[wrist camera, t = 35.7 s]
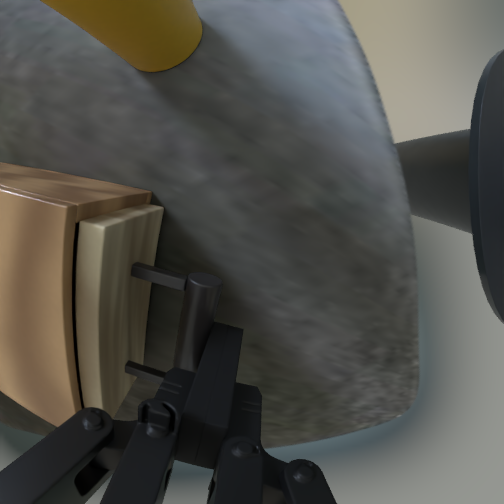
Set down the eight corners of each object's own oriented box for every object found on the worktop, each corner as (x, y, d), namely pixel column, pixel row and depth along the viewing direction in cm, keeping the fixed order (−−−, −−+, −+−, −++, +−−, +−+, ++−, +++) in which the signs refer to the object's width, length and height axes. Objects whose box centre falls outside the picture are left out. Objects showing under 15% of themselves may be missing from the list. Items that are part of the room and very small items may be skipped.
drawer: (239, 225, 16) (223, 258, 9) (202, 384, 19) (181, 459, 12) (10, 173, 15) (-57, 180, 9) (9, 307, 18) (-41, 341, 12)
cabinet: (152, 191, 16) (67, 206, 8) (131, 361, 19) (81, 440, 11) (3, 162, 16) (-76, 169, 8) (2, 301, 19) (-59, 340, 11)
